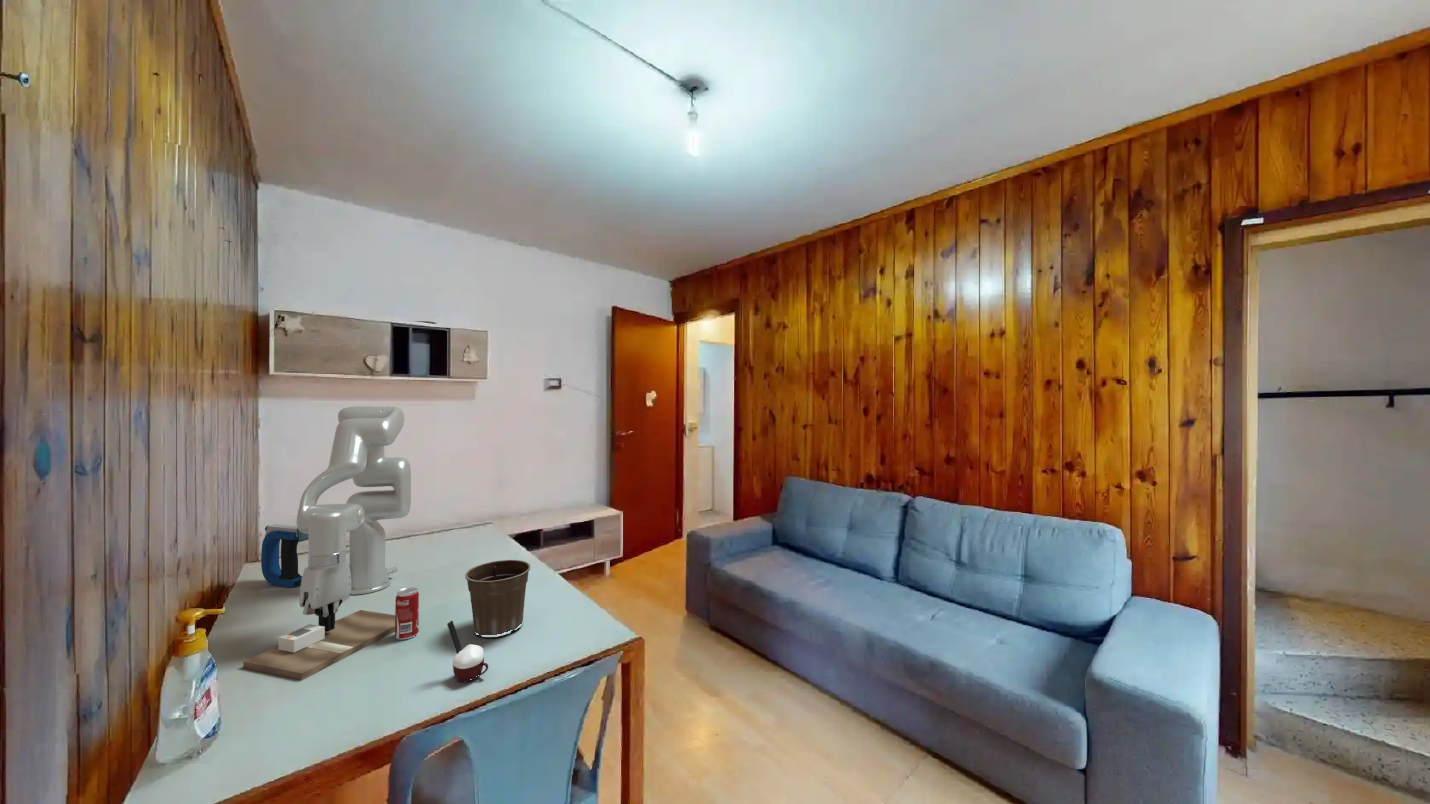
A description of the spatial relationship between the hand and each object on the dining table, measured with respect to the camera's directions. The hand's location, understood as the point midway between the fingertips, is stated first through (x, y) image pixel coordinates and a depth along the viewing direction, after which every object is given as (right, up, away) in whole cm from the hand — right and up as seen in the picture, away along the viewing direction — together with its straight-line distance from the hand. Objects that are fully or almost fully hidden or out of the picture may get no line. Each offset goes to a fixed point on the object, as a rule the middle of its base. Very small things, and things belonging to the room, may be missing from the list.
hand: (326, 629), depth 123 cm
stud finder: (-1, -1, -6) cm, 6 cm away
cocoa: (+45, -4, -16) cm, 47 cm away
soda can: (+19, -3, +2) cm, 20 cm away
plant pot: (+41, -3, +7) cm, 42 cm away
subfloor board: (+4, -3, -2) cm, 5 cm away
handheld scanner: (-42, -2, +36) cm, 56 cm away
